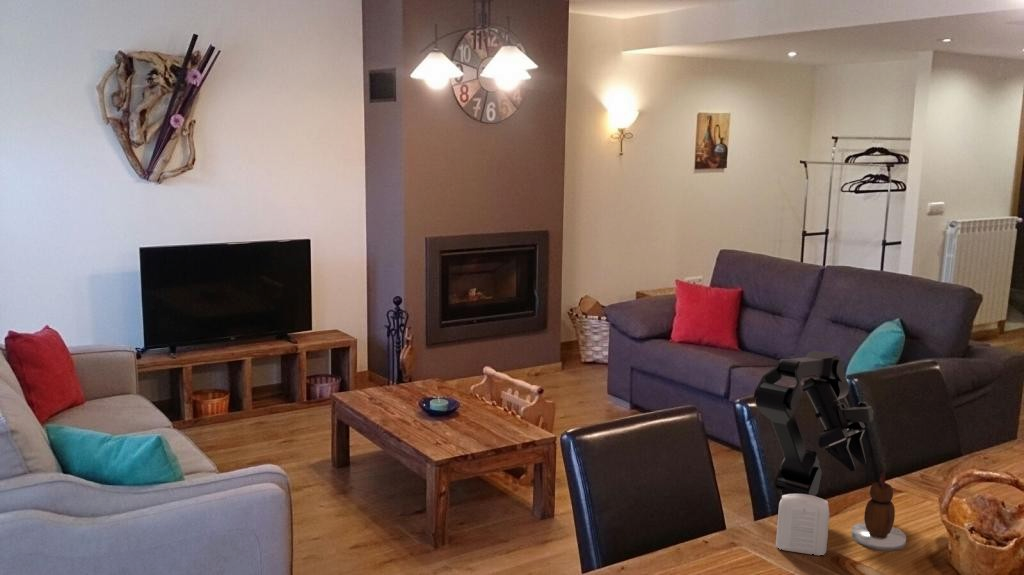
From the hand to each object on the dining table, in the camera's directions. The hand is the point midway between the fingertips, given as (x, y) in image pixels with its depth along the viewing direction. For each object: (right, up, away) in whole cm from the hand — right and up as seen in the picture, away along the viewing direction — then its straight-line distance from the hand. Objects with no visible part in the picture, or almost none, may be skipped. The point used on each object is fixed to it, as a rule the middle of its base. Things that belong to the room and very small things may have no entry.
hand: (859, 467), depth 206 cm
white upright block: (-18, -15, -15) cm, 28 cm away
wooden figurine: (0, -13, -10) cm, 16 cm away
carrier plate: (0, -14, -10) cm, 17 cm away
